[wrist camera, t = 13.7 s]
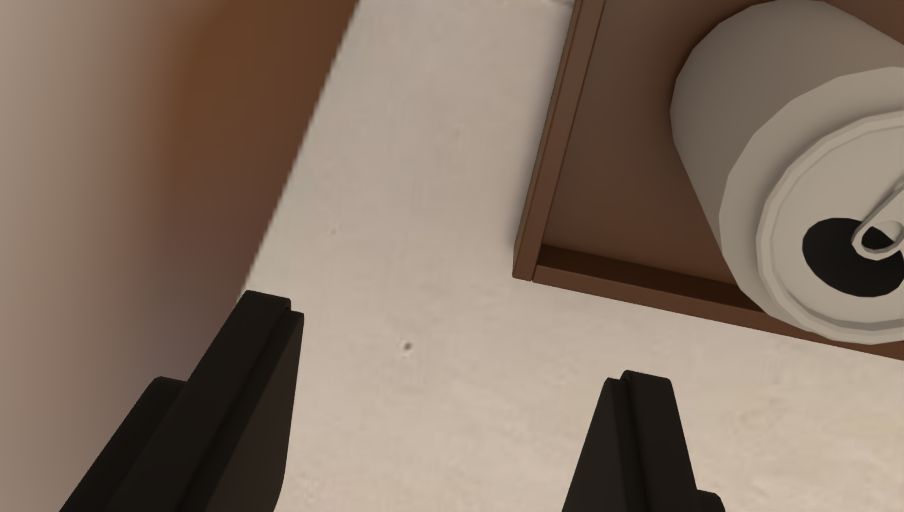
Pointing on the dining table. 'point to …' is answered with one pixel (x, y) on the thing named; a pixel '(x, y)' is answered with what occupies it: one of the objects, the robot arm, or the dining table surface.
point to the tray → (641, 167)
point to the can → (802, 163)
